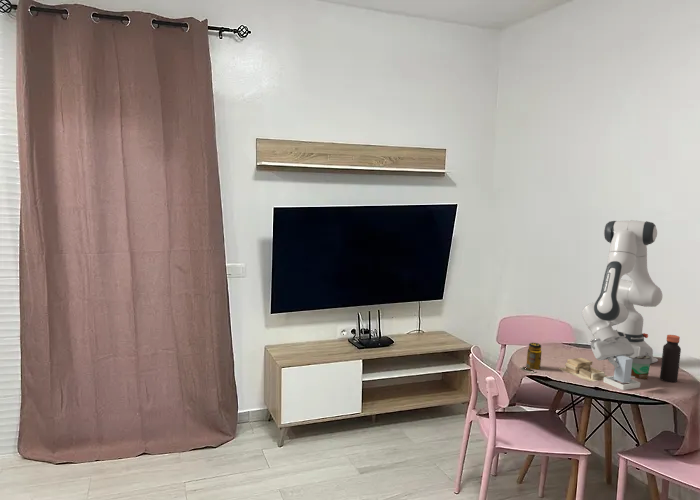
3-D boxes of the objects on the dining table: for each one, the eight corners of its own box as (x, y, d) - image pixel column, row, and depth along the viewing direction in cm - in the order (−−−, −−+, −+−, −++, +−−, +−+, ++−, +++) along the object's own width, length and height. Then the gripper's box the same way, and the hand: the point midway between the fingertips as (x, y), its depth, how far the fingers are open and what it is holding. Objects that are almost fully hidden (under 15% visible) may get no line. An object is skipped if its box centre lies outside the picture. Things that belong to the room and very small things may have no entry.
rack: (580, 367, 269) (581, 360, 268) (612, 380, 252) (613, 372, 252) (558, 370, 263) (558, 363, 262) (589, 384, 247) (589, 376, 246)
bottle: (679, 381, 255) (685, 336, 252) (672, 383, 251) (678, 339, 248) (664, 376, 260) (668, 333, 258) (656, 379, 256) (661, 335, 254)
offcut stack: (581, 367, 266) (582, 357, 265) (591, 371, 260) (592, 361, 260) (564, 369, 262) (565, 359, 261) (574, 373, 256) (575, 363, 256)
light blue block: (620, 378, 247) (622, 355, 246) (630, 381, 243) (632, 358, 242) (613, 379, 246) (615, 356, 245) (623, 383, 241) (625, 359, 240)
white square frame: (619, 381, 251) (620, 374, 251) (639, 389, 242) (640, 382, 242) (603, 384, 247) (603, 377, 247) (622, 392, 238) (623, 385, 238)
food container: (638, 383, 250) (640, 361, 249) (625, 378, 255) (628, 356, 254) (656, 379, 256) (658, 357, 254) (643, 375, 261) (646, 353, 260)
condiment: (544, 370, 262) (546, 345, 261) (531, 373, 257) (533, 347, 256) (531, 366, 268) (533, 340, 267) (518, 368, 263) (520, 343, 262)
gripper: (592, 336, 245) (609, 365, 237) (627, 332, 253) (644, 361, 246) (583, 343, 250) (599, 372, 242) (617, 339, 258) (634, 367, 250)
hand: (622, 366), depth 244 cm, fingers closed on light blue block, 4 cm apart
